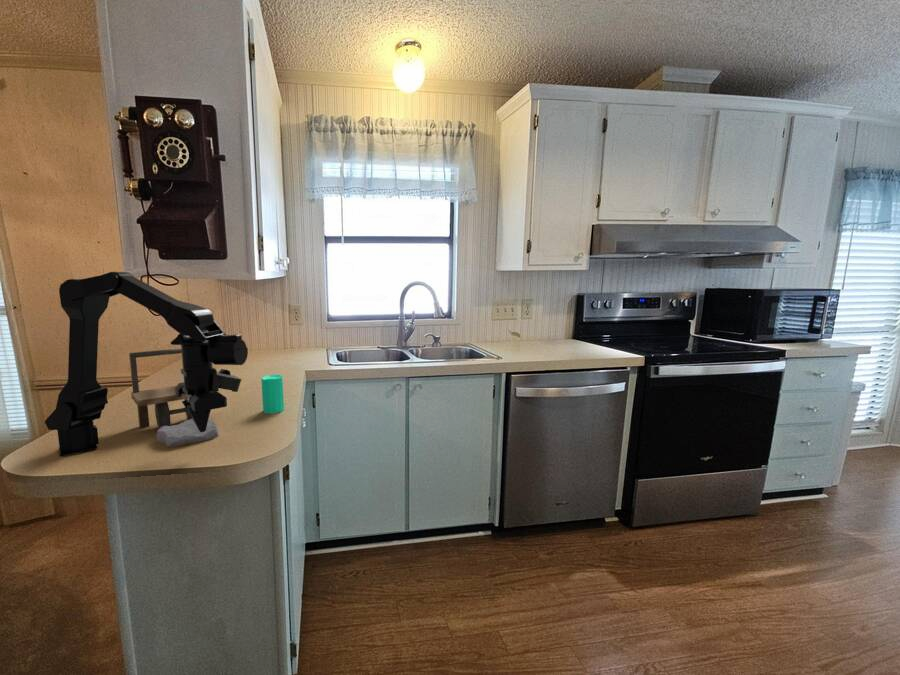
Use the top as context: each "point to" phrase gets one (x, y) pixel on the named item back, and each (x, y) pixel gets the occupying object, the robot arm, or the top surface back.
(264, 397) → the candle
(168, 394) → the wooden chair
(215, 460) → the top surface
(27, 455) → the top surface
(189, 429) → the stone block
